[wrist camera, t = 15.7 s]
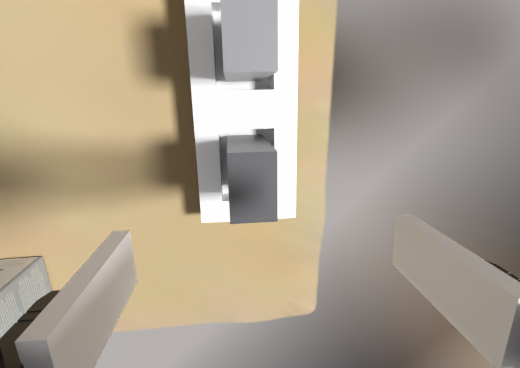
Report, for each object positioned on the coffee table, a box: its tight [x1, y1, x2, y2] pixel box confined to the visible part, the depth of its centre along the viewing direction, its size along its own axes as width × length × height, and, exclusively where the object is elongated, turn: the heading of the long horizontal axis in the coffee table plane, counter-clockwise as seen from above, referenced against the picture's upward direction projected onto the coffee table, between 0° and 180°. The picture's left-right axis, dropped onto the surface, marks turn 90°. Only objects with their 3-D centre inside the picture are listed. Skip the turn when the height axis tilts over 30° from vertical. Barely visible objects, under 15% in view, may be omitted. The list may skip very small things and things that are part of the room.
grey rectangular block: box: [227, 135, 278, 224], centre depth 30 cm, size 4×6×12 cm, turn 1°
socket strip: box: [184, 0, 299, 223], centre depth 29 cm, size 11×25×12 cm, turn 1°
